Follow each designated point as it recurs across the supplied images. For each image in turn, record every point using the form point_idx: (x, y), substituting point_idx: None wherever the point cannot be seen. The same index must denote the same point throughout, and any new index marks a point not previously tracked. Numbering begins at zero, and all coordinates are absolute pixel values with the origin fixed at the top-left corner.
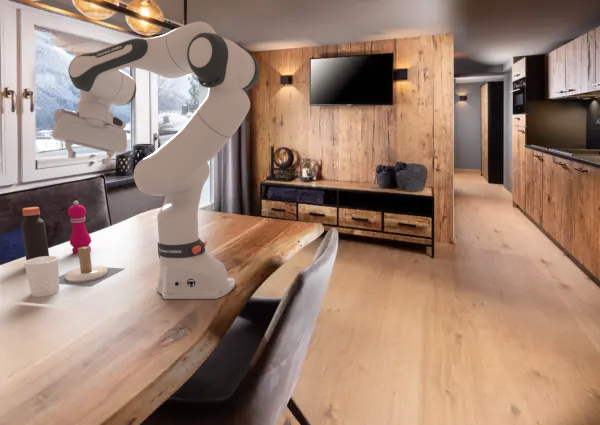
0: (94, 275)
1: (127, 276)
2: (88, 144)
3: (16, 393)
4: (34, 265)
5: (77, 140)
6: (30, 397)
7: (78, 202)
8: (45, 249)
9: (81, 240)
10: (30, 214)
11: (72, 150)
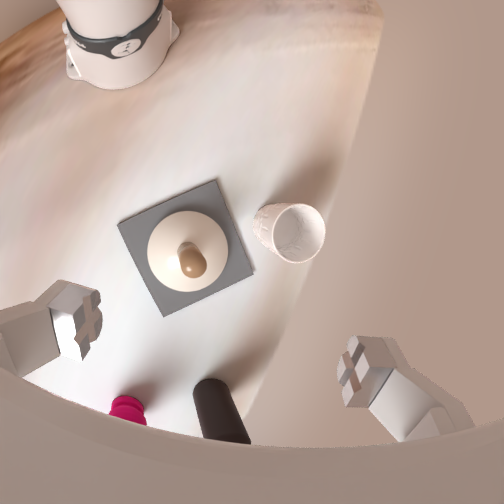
0: (190, 214)
1: (135, 184)
2: (274, 447)
3: (376, 27)
4: (319, 213)
5: (438, 442)
6: (371, 15)
7: None
8: (206, 399)
9: (129, 413)
10: None
11: (401, 371)
